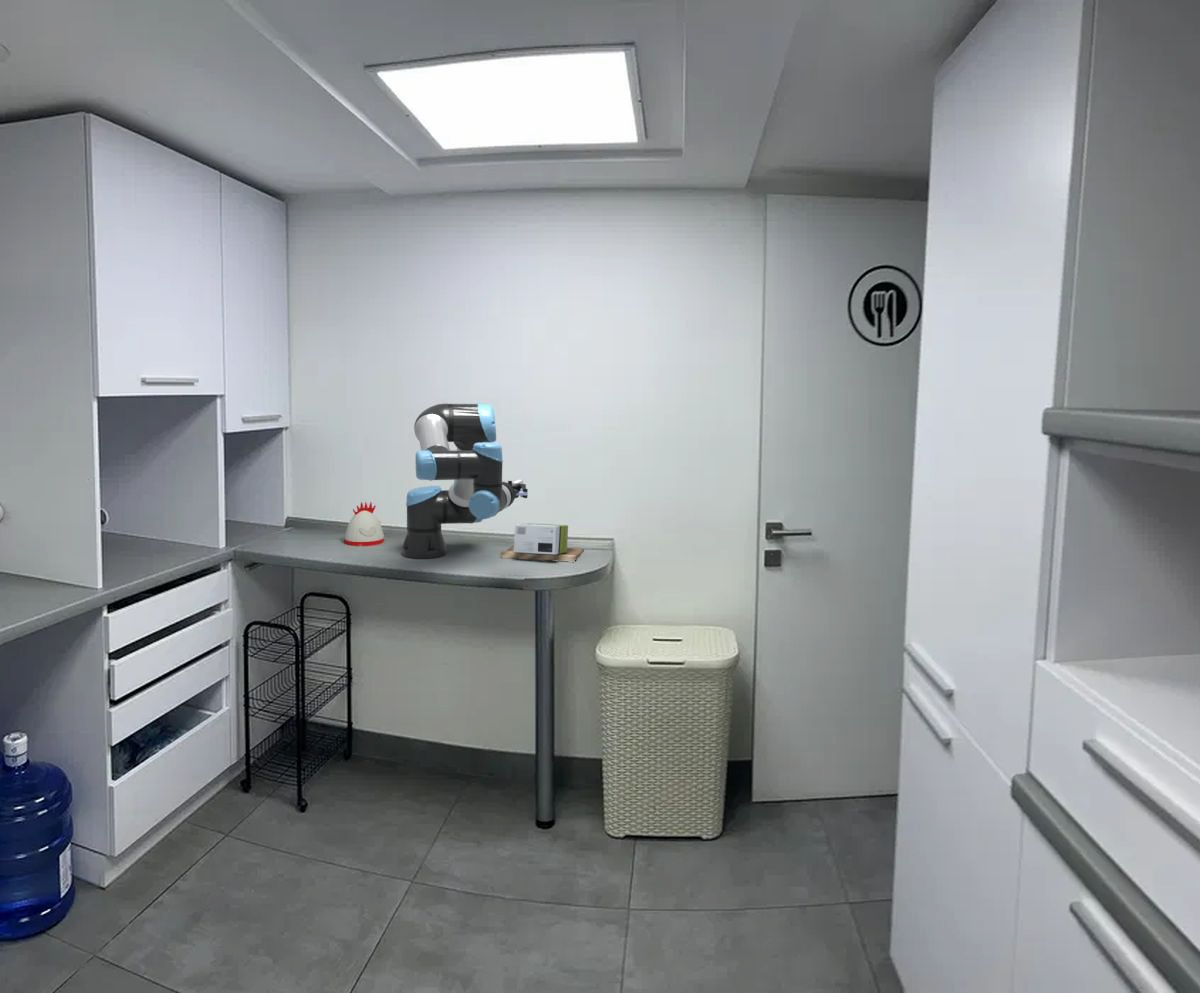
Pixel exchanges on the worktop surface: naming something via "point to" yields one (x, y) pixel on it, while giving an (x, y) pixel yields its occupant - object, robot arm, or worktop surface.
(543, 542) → the tea box
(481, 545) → the worktop surface
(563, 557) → the tan flat board
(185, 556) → the worktop surface
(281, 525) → the worktop surface
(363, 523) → the kitchen timer
